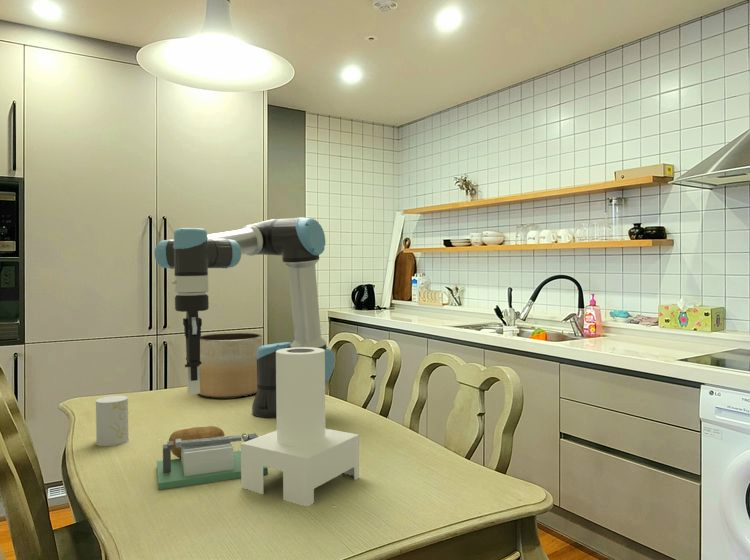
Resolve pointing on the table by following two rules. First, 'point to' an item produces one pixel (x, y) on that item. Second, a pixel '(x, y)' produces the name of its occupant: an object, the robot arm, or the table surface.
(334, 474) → the paper towel holder
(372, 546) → the table surface
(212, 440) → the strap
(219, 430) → the potato
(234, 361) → the planter
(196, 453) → the heatsink board
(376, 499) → the table surface
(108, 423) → the white patterned canister
